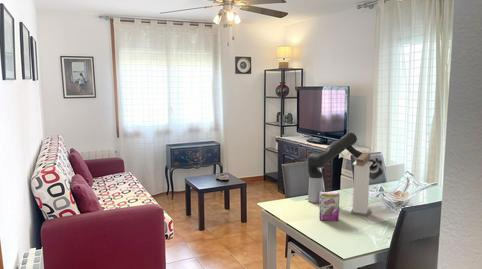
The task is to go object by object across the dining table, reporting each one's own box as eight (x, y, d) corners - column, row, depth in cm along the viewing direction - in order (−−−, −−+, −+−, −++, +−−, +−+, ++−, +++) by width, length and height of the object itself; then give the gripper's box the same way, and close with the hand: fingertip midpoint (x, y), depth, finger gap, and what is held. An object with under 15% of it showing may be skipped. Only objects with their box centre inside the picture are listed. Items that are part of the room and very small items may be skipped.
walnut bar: (363, 166, 214) (363, 159, 214) (356, 165, 216) (356, 159, 216) (370, 158, 235) (370, 152, 235) (363, 158, 237) (363, 152, 236)
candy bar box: (319, 220, 215) (320, 194, 213) (318, 217, 220) (319, 191, 218) (339, 221, 214) (339, 194, 212) (337, 218, 219) (338, 191, 217)
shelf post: (367, 216, 222) (369, 165, 217) (350, 213, 226) (352, 163, 222) (370, 211, 230) (372, 161, 226) (354, 208, 235) (356, 160, 231)
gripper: (362, 160, 263) (359, 152, 249) (383, 162, 256) (381, 154, 242) (361, 170, 260) (357, 163, 247) (382, 172, 253) (380, 165, 240)
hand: (369, 158), depth 245 cm, fingers open, 8 cm apart
